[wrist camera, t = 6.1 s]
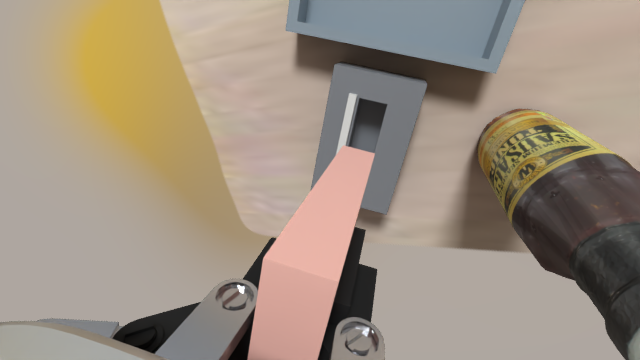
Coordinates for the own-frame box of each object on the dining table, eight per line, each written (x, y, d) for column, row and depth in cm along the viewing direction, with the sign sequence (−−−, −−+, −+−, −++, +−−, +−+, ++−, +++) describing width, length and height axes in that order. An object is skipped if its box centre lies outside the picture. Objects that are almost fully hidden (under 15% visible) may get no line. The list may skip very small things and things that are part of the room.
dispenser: (425, 79, 26) (429, 85, 23) (388, 197, 31) (387, 217, 28) (340, 61, 27) (332, 64, 24) (318, 178, 32) (307, 195, 29)
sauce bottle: (514, 90, 25) (789, 200, 7) (576, 136, 25) (985, 353, 8) (454, 152, 28) (546, 341, 10) (510, 194, 28) (695, 448, 11)
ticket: (374, 153, 15) (338, 282, 6) (347, 255, 18) (290, 458, 9) (343, 145, 16) (263, 257, 7) (319, 246, 18) (235, 435, 9)
